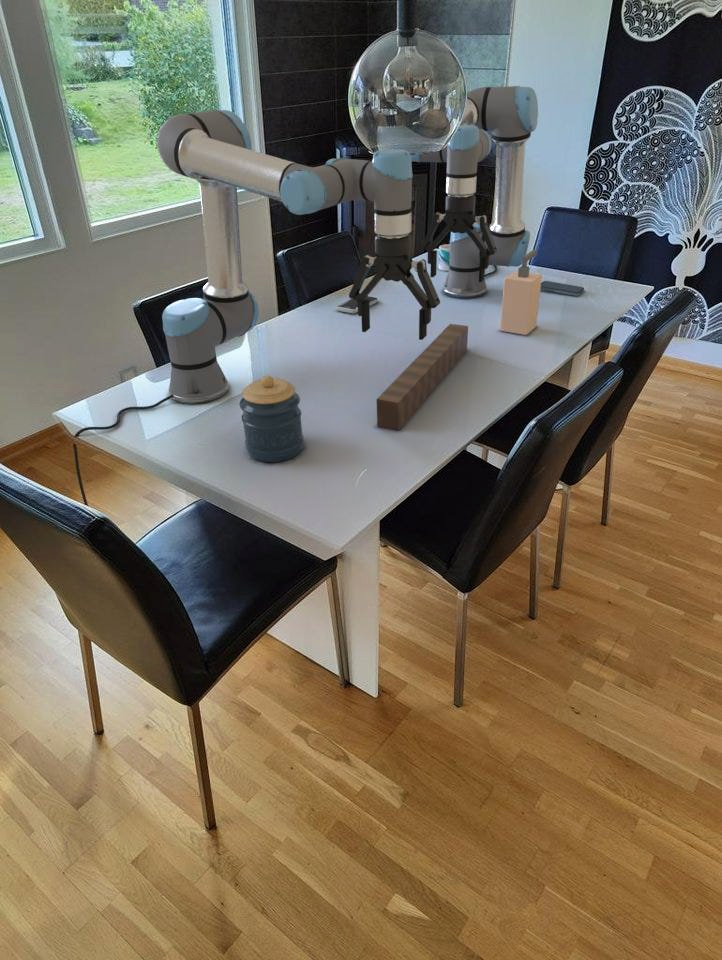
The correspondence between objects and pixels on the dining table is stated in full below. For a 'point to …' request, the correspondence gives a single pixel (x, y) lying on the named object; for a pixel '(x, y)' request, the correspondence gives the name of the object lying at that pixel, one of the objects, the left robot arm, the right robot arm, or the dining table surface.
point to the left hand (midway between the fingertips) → (393, 333)
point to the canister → (271, 420)
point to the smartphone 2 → (561, 288)
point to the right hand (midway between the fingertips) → (457, 278)
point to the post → (421, 377)
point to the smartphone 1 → (354, 305)
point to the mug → (444, 257)
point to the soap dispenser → (521, 299)
